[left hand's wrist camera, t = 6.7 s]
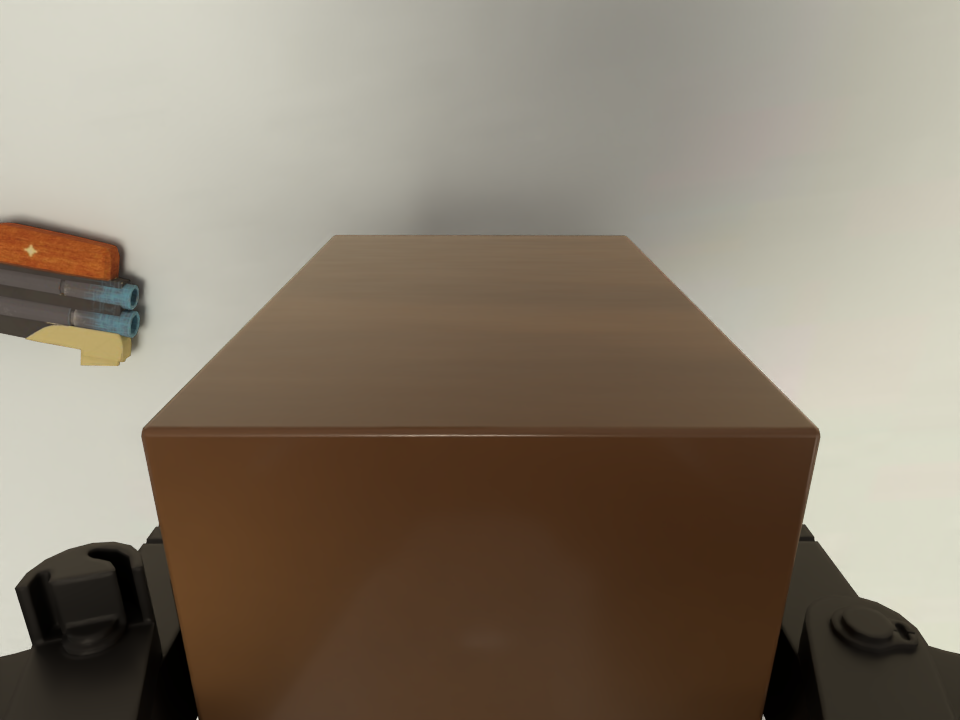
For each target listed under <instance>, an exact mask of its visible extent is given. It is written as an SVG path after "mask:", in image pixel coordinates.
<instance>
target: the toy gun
mask: <svg viewBox="0 0 960 720" xmlns="http://www.w3.org/2000/svg"><path fill="white" fill-rule="evenodd" d="M119 260H120V255H119V252H118V249H117V247H116V246H114V245H111V244H107V243H103V242H99V241H94V240H90V239H86V238H82V237H77V236H73V235H68V234H64V233H59V232H54V231H50V230H45V229H40V228H36V227H31V226H26V225H22V224H17V223H0V333H3V334H8V335H13V336H18V337H23V338H25V339H28V340H32V341H37V342H43V343H48V344H54V345H59V346H65V347H70V348H76V349H80V350H81V365H97V366H118V365H119V364H120V362H124V361H125V360H126V358H128V357H129V356H131V338H133V337H134V336H135V335H136V334H137V331H138V328H139V324H140V316H139V314H138V312H137V311H132V310H133V309H134V308H135V307H136V305H137V303H138V299H139V288H138V286H137V285H132V284H130V280H127V279H122V278H119V277H118V274H119Z"/></svg>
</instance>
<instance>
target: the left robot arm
mask: <svg viewBox="0 0 960 720" xmlns="http://www.w3.org/2000/svg"><path fill="white" fill-rule="evenodd" d="M15 590H16V593H17V597H18V600H19V603H20V606H21V610H22V613H23V616H24V619H25V622H26V626H27V629H28V632H29V635H30V639H31V642H32V648H31V649H29V650H26V651H22V652H19V653H15V654H11V655H7V656H2V657H0V720H196V719H197V717H198V712H197V707H196V702H195V697H194V692H193V687H192V682H191V677H190V672H189V667H188V663H187V658H186V653H185V648H184V643H183V638H182V633H181V628H180V623H179V618H178V613H177V609H176V604H175V599H174V594H173V589H172V584H171V579H170V574H169V569H168V564H167V559H166V555H165V550H164V545H163V540H162V535H161V530H160V525H159V527H155V529H154V530H153V531H152V533H151V534H150V536H149V537H148V538H147V542H146V544H143V545H142V546H141V548H140V549H139V550H138V551H137V550H136V549H135V548H133V547H132V546H131V545H126V544H122V543H117V542H102V543H91V544H87V545H83V546H79V547H75V548H71V549H68V550H66V551H63V552H61V553H59V554H57V555H55V556H52V557H50V558H48V559H46V560H44V561H43V562H42V563H40V564H39V565H37V566H36V567H35V568H33V569H32V570H30V571H29V572H28V573H26V575H25V576H24V577H23V578H22V580H21V581H20V582H19V584H18V585H17V586H16V587H15ZM763 715H764V717H765V719H766V720H960V654H958V653H953V652H949V651H944V650H941V649H938V648H934V647H931V646H928V644H927V643H926V641H925V640H924V638H923V637H922V635H921V634H920V632H919V631H918V629H917V628H916V627H915V626H914V625H912V624H911V623H910V622H909V621H907V620H906V619H905V618H904V617H903V616H901V615H900V614H899V613H897V612H895V611H893V610H891V609H889V608H887V607H885V606H883V605H881V604H879V603H877V602H874V601H871V600H867V599H864V598H860V597H859V596H858V595H857V594H856V592H855V591H854V590H853V588H852V587H851V586H850V584H849V583H848V582H847V580H846V579H845V578H844V576H843V575H842V574H841V572H840V571H839V570H838V568H837V567H836V566H835V564H834V563H833V562H832V560H831V559H830V557H829V556H828V555H827V553H826V552H825V551H824V549H823V548H822V547H821V545H820V544H819V543H818V541H815V540H814V536H813V535H812V533H811V532H810V531H809V529H808V528H807V527H806V525H805V524H802V528H801V532H800V537H799V542H798V547H797V552H796V556H795V561H794V566H793V571H792V576H791V580H790V585H789V590H788V595H787V600H786V604H785V609H784V614H783V619H782V624H781V628H780V633H779V638H778V643H777V648H776V652H775V657H774V662H773V667H772V672H771V677H770V681H769V686H768V691H767V696H766V701H765V705H764V710H763ZM763 715H762V716H763ZM198 719H199V717H198Z"/></svg>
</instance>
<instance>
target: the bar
mask: <svg viewBox="0 0 960 720" xmlns="http://www.w3.org/2000/svg"><path fill="white" fill-rule="evenodd" d="M141 437H142V442H143V447H144V452H145V456H146V461H147V466H148V471H149V476H150V481H151V486H152V491H153V496H154V501H155V506H156V510H157V515H158V520H159V525H160V530H161V535H162V540H163V545H164V550H165V555H166V559H167V564H168V569H169V574H170V579H171V584H172V589H173V594H174V599H175V604H176V609H177V613H178V618H179V623H180V628H181V633H182V638H183V643H184V648H185V653H186V658H187V663H188V667H189V672H190V677H191V682H192V687H193V692H194V697H195V702H196V707H197V712H198V717H199V720H762V715H763V710H764V705H765V701H766V696H767V691H768V686H769V681H770V677H771V672H772V667H773V662H774V657H775V652H776V648H777V643H778V638H779V633H780V628H781V624H782V619H783V614H784V609H785V604H786V600H787V595H788V590H789V585H790V580H791V576H792V571H793V566H794V561H795V556H796V552H797V547H798V542H799V537H800V532H801V528H802V523H803V518H804V513H805V508H806V504H807V499H808V494H809V489H810V484H811V480H812V475H813V470H814V465H815V460H816V456H817V451H818V446H819V441H820V432H819V429H818V428H817V427H816V426H815V425H814V424H813V423H812V422H811V421H810V420H809V419H808V418H807V417H806V416H805V415H804V414H803V413H802V412H801V411H800V410H799V409H798V408H797V407H796V406H795V405H794V404H793V403H792V402H791V401H790V399H789V398H788V397H787V396H786V395H785V394H784V393H783V392H782V391H781V390H780V389H779V388H778V387H777V386H776V385H775V384H774V383H773V382H772V381H771V380H770V379H769V378H768V377H767V376H766V375H765V374H764V373H763V372H762V371H761V370H760V369H759V368H758V367H757V366H756V365H755V364H754V363H753V362H752V361H751V360H750V359H749V358H748V357H747V356H746V355H745V354H744V353H743V352H742V351H741V350H740V349H739V348H738V347H737V346H736V345H735V344H734V343H733V342H732V341H731V340H730V339H729V338H728V337H727V336H726V335H725V334H724V333H723V332H722V331H721V330H720V329H719V328H718V327H717V326H716V325H715V324H714V323H713V322H712V321H711V320H710V319H709V318H708V317H707V316H706V315H705V314H704V313H703V312H702V311H701V310H700V309H699V308H698V307H697V306H696V305H695V304H694V303H693V302H692V301H691V300H690V299H689V298H688V297H687V296H686V295H685V294H684V293H683V292H682V291H681V290H680V289H679V288H678V287H677V286H676V285H675V284H674V283H673V282H672V281H671V280H670V279H669V278H668V277H667V276H666V275H665V274H664V273H663V272H662V271H661V270H660V269H659V268H658V267H657V266H656V265H655V264H654V263H653V262H652V261H651V260H650V259H649V258H648V257H647V256H646V255H645V254H644V253H643V252H642V251H641V250H640V249H639V248H638V247H637V246H636V245H635V244H634V243H633V242H632V241H631V240H630V239H629V238H628V237H627V236H617V235H335V236H333V237H332V238H331V239H330V240H329V241H328V242H327V243H326V244H325V245H324V246H323V247H322V248H321V249H320V250H319V251H318V252H317V253H316V254H315V255H314V256H313V257H312V258H311V259H310V260H309V261H308V262H307V263H306V264H305V265H304V266H303V267H302V268H301V269H300V270H299V271H298V272H297V273H296V274H295V275H294V276H293V277H292V278H291V279H290V280H289V282H288V283H287V284H286V285H285V286H284V287H283V288H282V289H281V290H280V291H279V292H278V293H277V294H276V295H275V296H274V297H273V298H272V299H271V300H270V301H269V302H268V303H267V304H266V305H265V306H264V307H263V308H262V309H261V310H260V311H259V312H258V313H257V314H256V315H255V316H254V317H253V318H252V319H251V320H250V321H249V322H248V323H247V324H246V325H245V326H244V327H243V328H242V329H241V330H240V331H239V332H238V333H237V334H236V335H235V336H234V337H233V338H232V339H231V340H230V341H229V342H228V343H227V344H226V345H225V346H224V347H223V348H222V349H221V350H220V351H219V352H218V353H217V354H216V355H215V356H214V357H213V358H212V359H211V360H210V361H209V362H208V363H207V364H206V365H205V366H204V367H203V368H202V369H201V370H200V371H199V372H198V373H197V374H196V375H195V376H194V377H193V378H192V379H191V380H190V381H189V382H188V383H187V384H186V385H185V386H184V387H183V388H182V389H181V390H180V391H179V392H178V393H177V394H176V395H175V396H174V397H173V398H172V399H171V400H170V401H169V402H168V403H167V404H166V405H165V406H164V407H163V408H162V409H161V410H160V411H159V412H158V413H157V414H156V415H155V416H154V417H153V418H152V419H151V420H150V422H149V423H148V424H147V425H146V426H145V427H144V428H143V430H142V435H141Z"/></svg>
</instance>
